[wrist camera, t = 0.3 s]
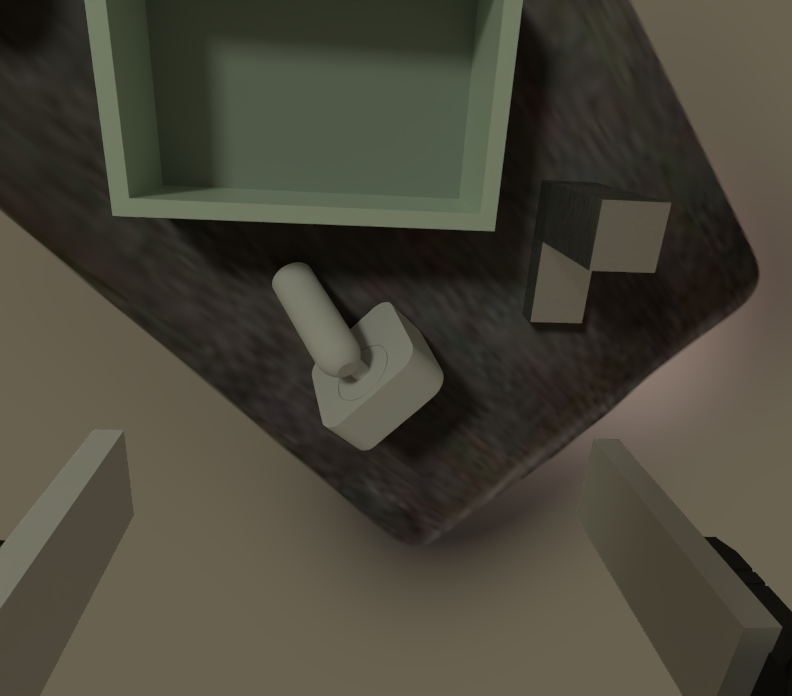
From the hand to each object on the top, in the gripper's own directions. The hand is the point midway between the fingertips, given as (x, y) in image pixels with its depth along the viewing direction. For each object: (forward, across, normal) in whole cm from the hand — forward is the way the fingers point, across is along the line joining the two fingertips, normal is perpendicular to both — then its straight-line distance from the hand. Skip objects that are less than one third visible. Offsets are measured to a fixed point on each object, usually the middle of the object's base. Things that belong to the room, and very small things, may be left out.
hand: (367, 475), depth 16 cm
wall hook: (+27, 0, -5) cm, 28 cm away
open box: (+27, -3, +11) cm, 29 cm away
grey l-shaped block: (+27, +16, +1) cm, 31 cm away
